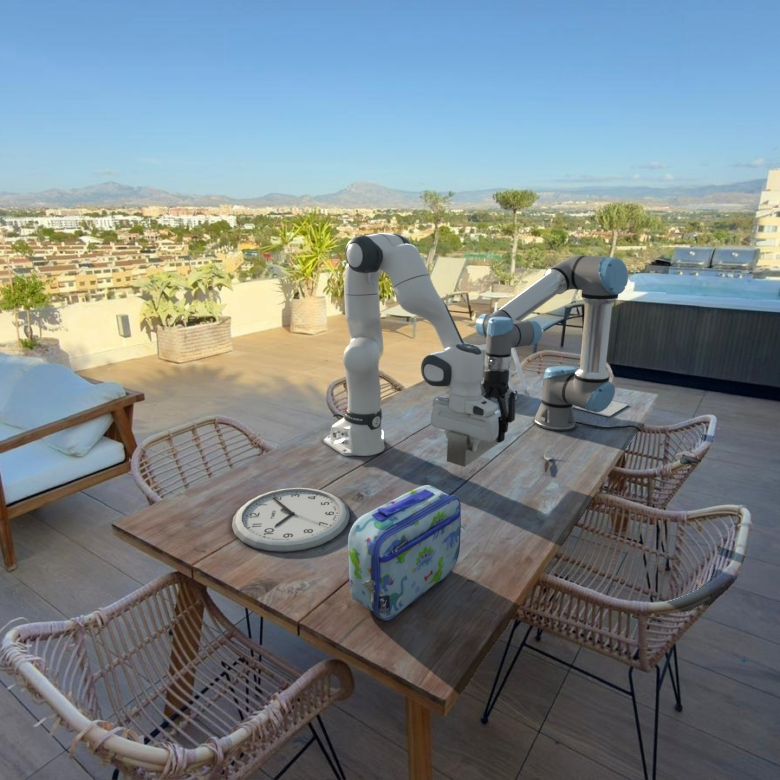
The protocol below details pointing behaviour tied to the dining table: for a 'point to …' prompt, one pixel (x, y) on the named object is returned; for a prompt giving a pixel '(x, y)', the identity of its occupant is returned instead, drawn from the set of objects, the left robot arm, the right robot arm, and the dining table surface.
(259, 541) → the wall clock
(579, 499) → the dining table surface
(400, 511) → the lunch box
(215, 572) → the dining table surface
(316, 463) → the dining table surface
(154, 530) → the dining table surface
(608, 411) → the invitation card
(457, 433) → the bar
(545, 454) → the fork
